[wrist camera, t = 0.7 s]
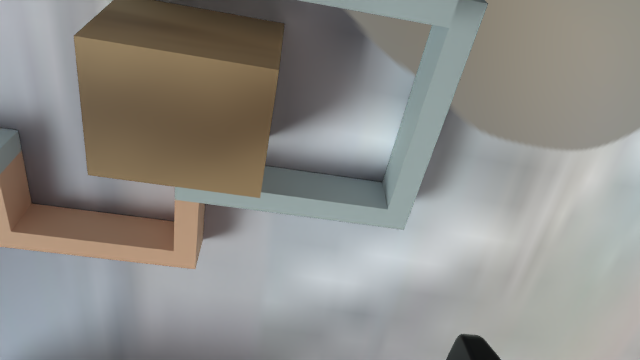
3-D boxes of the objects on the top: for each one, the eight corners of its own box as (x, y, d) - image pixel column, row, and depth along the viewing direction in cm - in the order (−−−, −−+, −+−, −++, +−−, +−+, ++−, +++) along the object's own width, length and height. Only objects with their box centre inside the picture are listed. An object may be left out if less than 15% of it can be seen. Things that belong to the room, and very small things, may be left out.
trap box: (376, 261, 26) (382, 298, 24) (-269, 182, 22) (-326, 218, 20) (471, -13, 18) (492, 8, 16) (-505, -203, 14) (-639, -208, 12)
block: (268, 135, 22) (260, 198, 18) (126, 113, 21) (87, 174, 17) (284, 22, 19) (279, 70, 15) (121, -7, 18) (73, 35, 14)
